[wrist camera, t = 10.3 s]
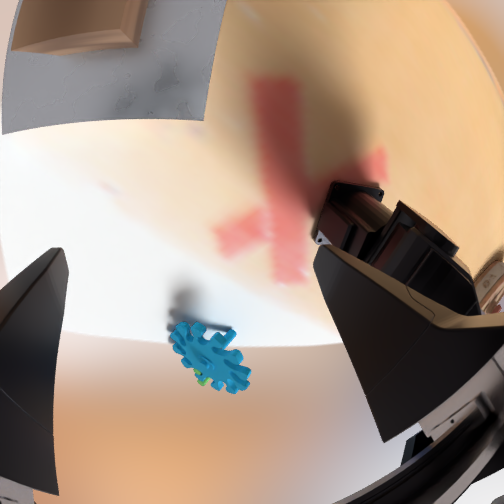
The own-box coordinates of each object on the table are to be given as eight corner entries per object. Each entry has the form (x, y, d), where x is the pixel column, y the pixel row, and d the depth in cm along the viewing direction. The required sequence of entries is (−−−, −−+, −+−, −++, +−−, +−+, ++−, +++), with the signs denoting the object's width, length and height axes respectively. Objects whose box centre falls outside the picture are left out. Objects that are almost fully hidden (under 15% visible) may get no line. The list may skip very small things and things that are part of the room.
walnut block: (155, -22, 8) (151, -67, 3) (138, 47, 11) (119, 29, 6) (76, -14, 6) (40, -44, 2) (60, 55, 9) (10, 51, 4)
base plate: (235, -50, 9) (244, -63, 7) (199, 115, 17) (203, 120, 15) (49, -37, 4) (37, -47, 2) (18, 126, 12) (2, 134, 10)
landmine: (483, 262, 47) (508, 288, 39) (507, 255, 54) (527, 275, 46) (438, 329, 60) (457, 355, 52) (472, 312, 67) (487, 331, 60)
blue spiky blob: (171, 310, 24) (259, 377, 22) (208, 280, 29) (286, 335, 27) (162, 359, 31) (226, 409, 29) (191, 332, 35) (250, 377, 33)
